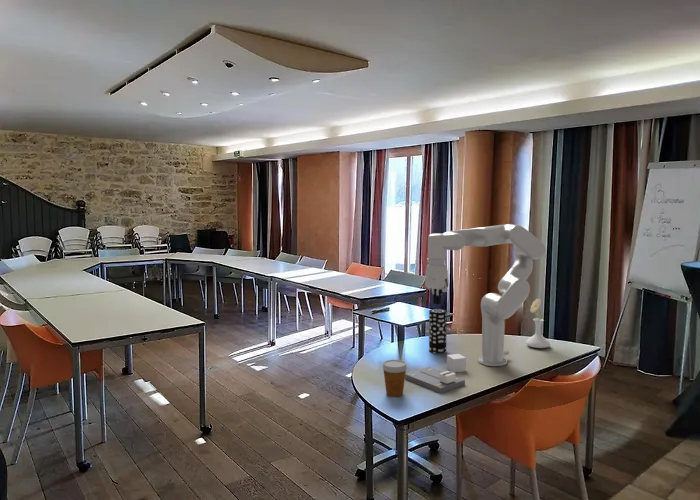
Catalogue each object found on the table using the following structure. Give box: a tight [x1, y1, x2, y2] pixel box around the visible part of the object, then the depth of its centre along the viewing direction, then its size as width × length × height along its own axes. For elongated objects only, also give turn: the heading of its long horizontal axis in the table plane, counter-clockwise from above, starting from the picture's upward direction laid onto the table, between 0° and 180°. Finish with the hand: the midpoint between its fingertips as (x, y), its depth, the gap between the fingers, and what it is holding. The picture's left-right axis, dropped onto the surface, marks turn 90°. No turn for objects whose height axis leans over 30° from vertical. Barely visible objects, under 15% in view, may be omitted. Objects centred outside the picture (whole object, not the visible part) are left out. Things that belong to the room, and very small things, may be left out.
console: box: [405, 366, 466, 394], centre depth 206 cm, size 14×20×2 cm
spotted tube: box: [428, 308, 448, 355], centre depth 245 cm, size 8×8×20 cm
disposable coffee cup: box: [381, 359, 408, 398], centre depth 193 cm, size 10×10×12 cm
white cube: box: [446, 353, 467, 373], centre depth 219 cm, size 6×6×6 cm
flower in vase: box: [525, 298, 551, 349], centre depth 249 cm, size 13×11×25 cm
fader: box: [439, 370, 457, 384], centre depth 200 cm, size 5×4×3 cm
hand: (437, 303), depth 220 cm, fingers closed
